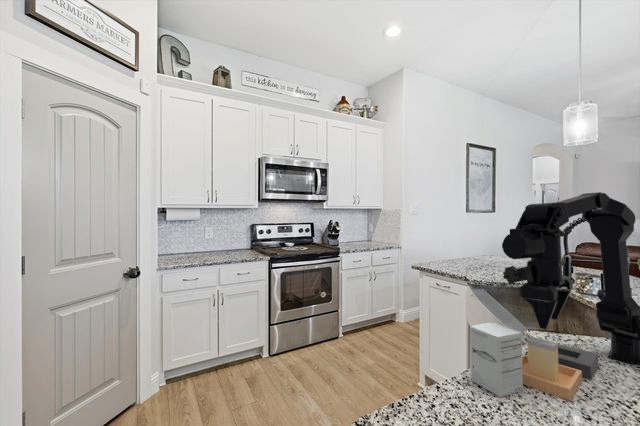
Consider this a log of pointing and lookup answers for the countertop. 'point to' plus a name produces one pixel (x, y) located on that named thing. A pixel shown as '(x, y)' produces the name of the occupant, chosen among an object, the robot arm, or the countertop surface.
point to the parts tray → (561, 388)
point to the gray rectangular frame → (578, 360)
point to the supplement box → (496, 358)
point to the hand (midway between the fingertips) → (548, 323)
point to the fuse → (543, 359)
